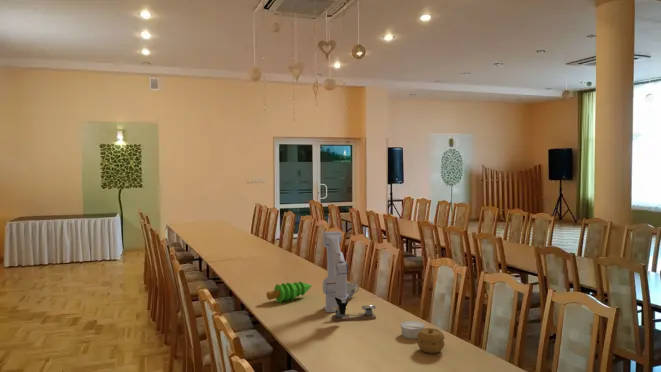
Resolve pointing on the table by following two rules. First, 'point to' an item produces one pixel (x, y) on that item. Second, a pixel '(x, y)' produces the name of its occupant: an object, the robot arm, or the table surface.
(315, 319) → the table surface
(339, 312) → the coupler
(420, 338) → the pot
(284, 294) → the decorative tree
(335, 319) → the shaft board
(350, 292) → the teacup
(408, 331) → the ramekin
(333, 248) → the robot arm
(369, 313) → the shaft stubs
